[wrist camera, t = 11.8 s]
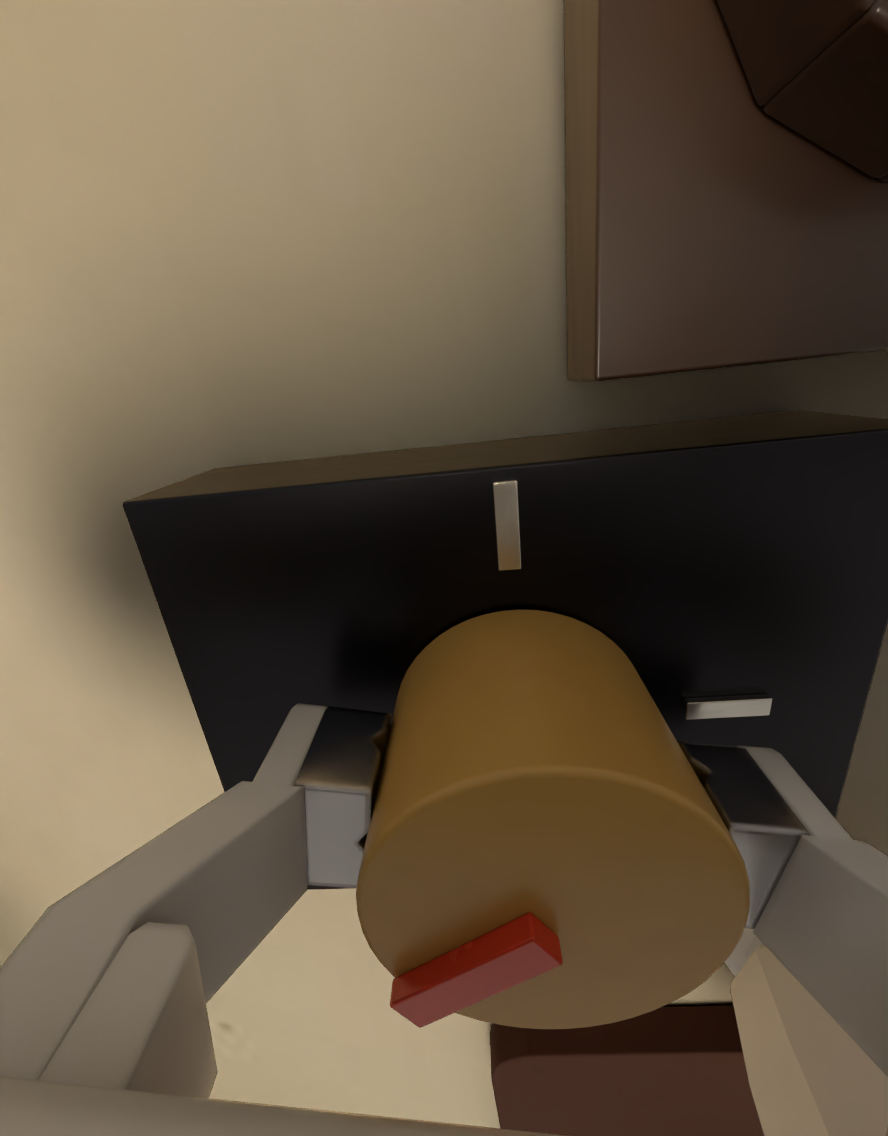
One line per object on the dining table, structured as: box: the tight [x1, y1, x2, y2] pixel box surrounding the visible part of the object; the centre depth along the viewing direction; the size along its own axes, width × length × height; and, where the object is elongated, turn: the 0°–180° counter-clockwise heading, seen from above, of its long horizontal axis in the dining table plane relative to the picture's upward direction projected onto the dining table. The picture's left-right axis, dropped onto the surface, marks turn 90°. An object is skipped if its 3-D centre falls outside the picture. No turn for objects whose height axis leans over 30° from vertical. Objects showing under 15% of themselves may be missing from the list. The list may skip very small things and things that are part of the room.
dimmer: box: [123, 410, 888, 889], centre depth 10 cm, size 12×9×3 cm
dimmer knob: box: [356, 609, 750, 1029], centre depth 7 cm, size 4×4×4 cm
